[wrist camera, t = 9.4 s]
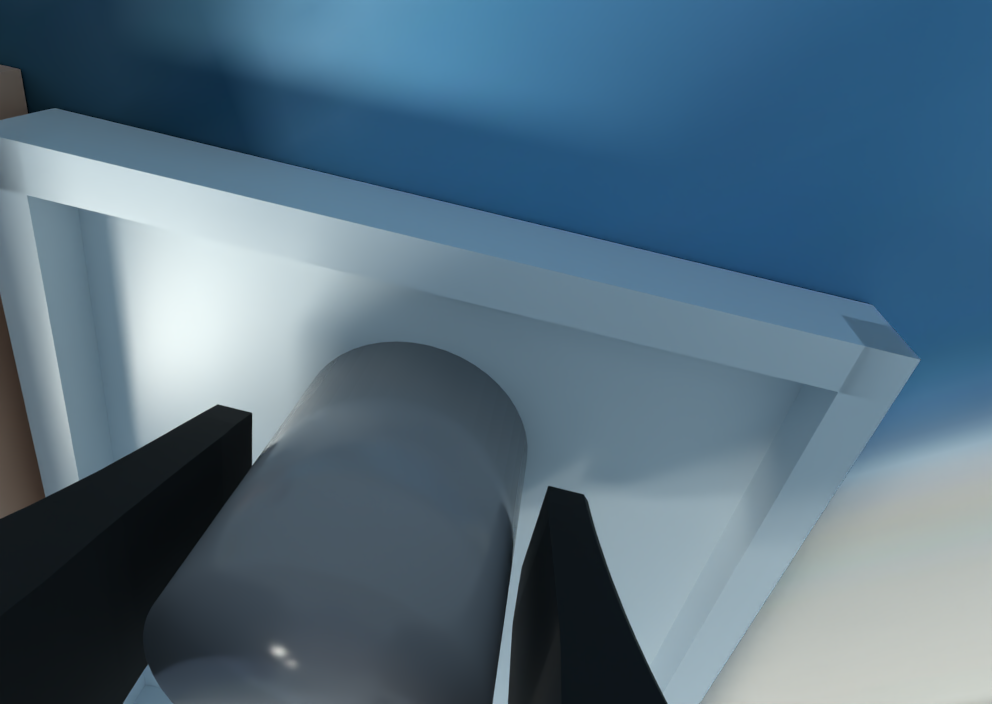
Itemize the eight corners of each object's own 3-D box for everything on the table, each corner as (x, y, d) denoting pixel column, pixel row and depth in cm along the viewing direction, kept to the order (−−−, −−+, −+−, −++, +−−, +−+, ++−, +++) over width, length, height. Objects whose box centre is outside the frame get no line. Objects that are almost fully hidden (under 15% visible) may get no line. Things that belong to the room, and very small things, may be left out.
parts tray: (600, 784, 19) (600, 856, 17) (138, 668, 19) (96, 729, 17) (872, 305, 11) (920, 359, 9) (54, 107, 11) (-37, 128, 9)
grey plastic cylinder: (501, 548, 13) (457, 817, 9) (297, 497, 13) (156, 740, 9) (552, 375, 11) (527, 622, 7) (306, 315, 11) (126, 523, 7)
